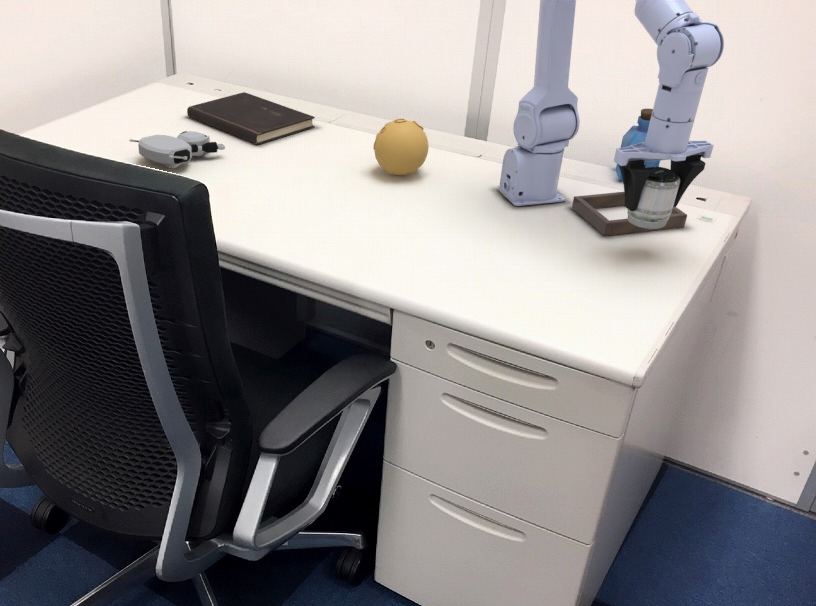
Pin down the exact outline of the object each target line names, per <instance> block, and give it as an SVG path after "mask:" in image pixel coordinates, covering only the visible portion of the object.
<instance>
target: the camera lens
mask: <svg viewBox="0 0 816 606" xmlns="http://www.w3.org/2000/svg"><path fill="white" fill-rule="evenodd" d="M646 169H648V170H649V171H650V172H651V174H650V176H649V177H648V179H647V181H646V183H645V185H644V187H643V190H642V193H641V196H640V200H639V204H638V207H637V209H636V211H630V210H629V209H628V208H626V209H627V217H626V219H628V221H629V222H630V223H632V224H633V225H636V226H638V227H641V228H648V229H658V228H662V227H664V226H665V225H666V223H667V221H668V220H669V218H670V215H671V213H672V209H673V206H674V202H675V198H676V195H677V191H678V187H679V184H680V178H679V176H678V175H677V174H676V173H675V172H673V171H672V170H670V168H667V167H664V166H659V167H647V168H646Z"/></svg>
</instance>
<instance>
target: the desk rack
mask: <svg viewBox="0 0 816 606" xmlns="http://www.w3.org/2000/svg"><path fill="white" fill-rule="evenodd" d="M622 206H624V207H625V195H624V191H616V192H615V191H614V192H605V193H597V194H587V195H586V194H585V195H575V196H573V199H572V205H571V209H572V210H573V211H574V212H575V213H576V214H577V215H579V216H580V217H581V218H582V219H583V220H585V222H587V223H588V224H589V225H590V226H591V227H593V228H594V229H595V230H596V231H598V232H599V233H600V234H601V235H602V236H603V237H605V236H606V237H607V236H617V235H625V234H634V233H643V232H653V231H662V230H671V229H681V228H685V225H686V222H687V219H688V214H687V213H685V212H684V211H683V210H682V209H680V208H678V207H677V206H676V207H673V209H672V213H671V215H670V218H669V220H668V221H667V223H666V225H665V226H664V227H662V228H658V229H648V228H641V227H638V226H636V225H633V224H632V223H630V222H629V221H628V219H627V218H622V219H610V220H609V218H607V217H606V216H605V215H603V214H602V213H601V212H600V211H598V210H597V209H602V208H603V209H604V208H614V207H615V208H616V207H622Z"/></svg>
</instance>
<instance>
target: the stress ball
mask: <svg viewBox="0 0 816 606" xmlns="http://www.w3.org/2000/svg"><path fill="white" fill-rule="evenodd" d="M424 129H425V128H424V127H423V126H422V125H420V124H419V123H418V122H417V121H415V120H413V121H412V120H409V119H405V118H397V119H394V120H393V121H388V122H387V123H386V124H384V126H383V127H381V129H380V131H379V132H377V133H376V136H375V139H374V142H373V150H374V156H375V159H376V161H377V163H378V165H379V166H380V167H381V168H382V169H383V170H384V171H385V172H387V173H389V174H391V175H394V176H407V175H411V174H413V173H415V172H417V170H418V169H420V168H421V167H422V166H423V165H424V163H425V162H426V160H427V157H428V154H429V140H428V135H427V134H426V132H425V131H424Z"/></svg>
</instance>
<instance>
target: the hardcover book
mask: <svg viewBox="0 0 816 606" xmlns="http://www.w3.org/2000/svg"><path fill="white" fill-rule="evenodd" d="M186 113H187V117H188V118H190V119H192V120H196V121H198V122H201V123H203V124H206V125H208V126H210V127H212V128H214V129H215V128H216V129H218V130H221V131H222V132H225V133H228V134H231V135H233V136H235V137H238V138H240V139H243V140H245V141H247V142H249V143H252V144H255V145H257V146H260V145H263V144H266V143H270V142H273V141H275V140H279V139H282V138H286V137H289V136H292V135H295V134H298V133H301V132H305V131H308V130H311V129H315V128H316V126H315V125H313V120H314V119H316V117H315V116H313V115H311V114H308V113H304V112H302V111H300V110H297V109H294V108H290V107H288V106H285V105H282V104H279V103H276V102H274V101H271V100H268V99H265V98H262V97H259V96H256V95H254V94H251V93H248V92H246V91H243V92H240V93H239V92H238V93H235V94H232V95H228V96H224V97H220V98H218V99H217V98H216V99H212V100H209V101H206V102H205V101H204V102H201V103H197V104H193V105H190V106H188V107H187V109H186Z"/></svg>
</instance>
